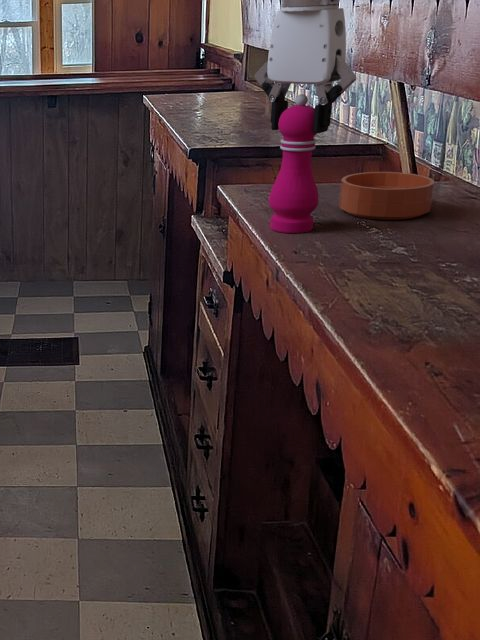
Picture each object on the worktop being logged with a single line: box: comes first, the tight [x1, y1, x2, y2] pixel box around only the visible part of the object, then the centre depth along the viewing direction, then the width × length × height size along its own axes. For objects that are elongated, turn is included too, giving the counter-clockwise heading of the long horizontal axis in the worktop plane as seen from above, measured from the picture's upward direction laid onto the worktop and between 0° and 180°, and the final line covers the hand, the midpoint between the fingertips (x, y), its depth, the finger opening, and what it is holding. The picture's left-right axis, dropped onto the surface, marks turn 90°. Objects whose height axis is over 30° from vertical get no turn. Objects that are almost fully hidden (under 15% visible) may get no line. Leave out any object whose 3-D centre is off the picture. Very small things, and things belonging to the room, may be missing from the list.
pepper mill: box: [268, 93, 320, 234], centre depth 129 cm, size 7×7×20 cm
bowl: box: [338, 171, 436, 221], centre depth 139 cm, size 14×14×5 cm
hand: (299, 129), depth 128 cm, fingers closed on pepper mill, 6 cm apart
